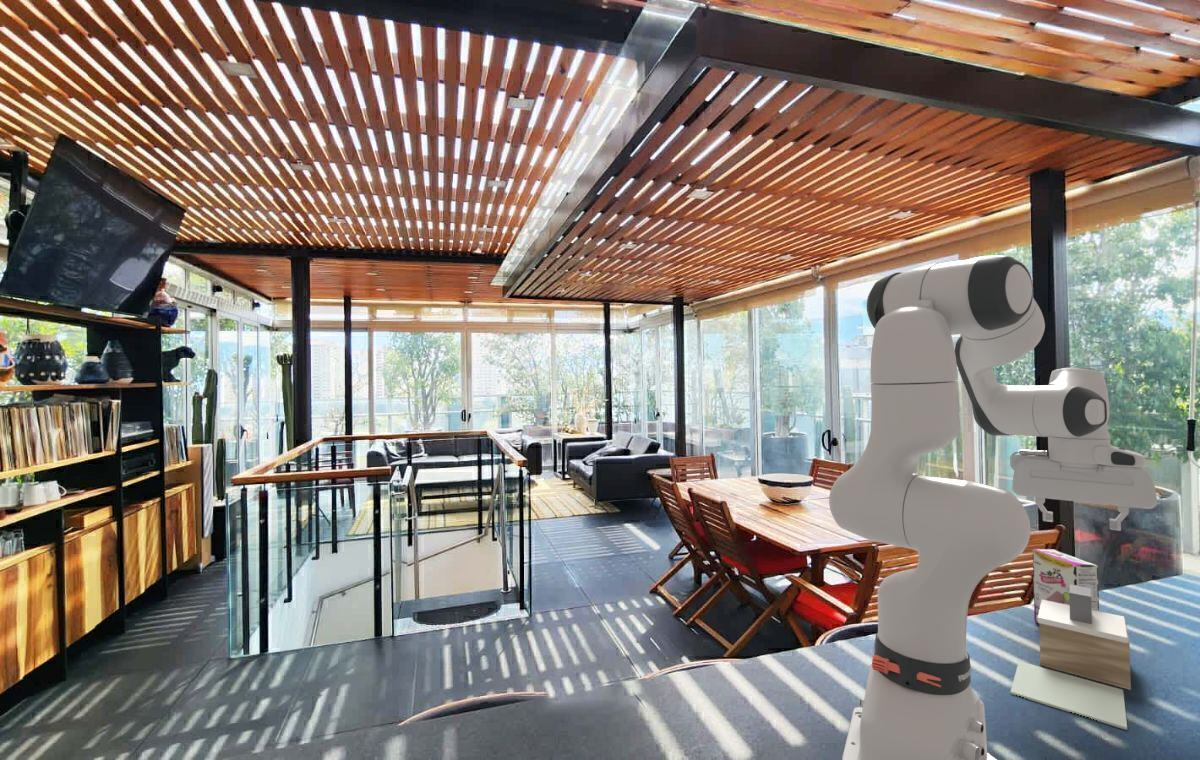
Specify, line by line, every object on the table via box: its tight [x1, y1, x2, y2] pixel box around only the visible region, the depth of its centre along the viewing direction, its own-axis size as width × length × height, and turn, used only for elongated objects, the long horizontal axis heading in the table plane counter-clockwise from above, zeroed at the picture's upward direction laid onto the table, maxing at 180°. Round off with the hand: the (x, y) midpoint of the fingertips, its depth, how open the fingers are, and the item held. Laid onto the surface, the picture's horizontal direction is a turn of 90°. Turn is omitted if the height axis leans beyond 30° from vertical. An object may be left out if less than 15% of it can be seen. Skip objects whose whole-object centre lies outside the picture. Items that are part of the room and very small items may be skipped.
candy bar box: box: [1032, 548, 1100, 624], centre depth 112 cm, size 11×5×16 cm, turn 179°
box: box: [1038, 621, 1132, 691], centre depth 99 cm, size 12×12×8 cm
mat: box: [1010, 660, 1128, 731], centre depth 89 cm, size 14×14×1 cm
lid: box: [1037, 584, 1128, 644], centre depth 99 cm, size 12×12×8 cm
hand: (1080, 525), depth 99 cm, fingers open, 8 cm apart
